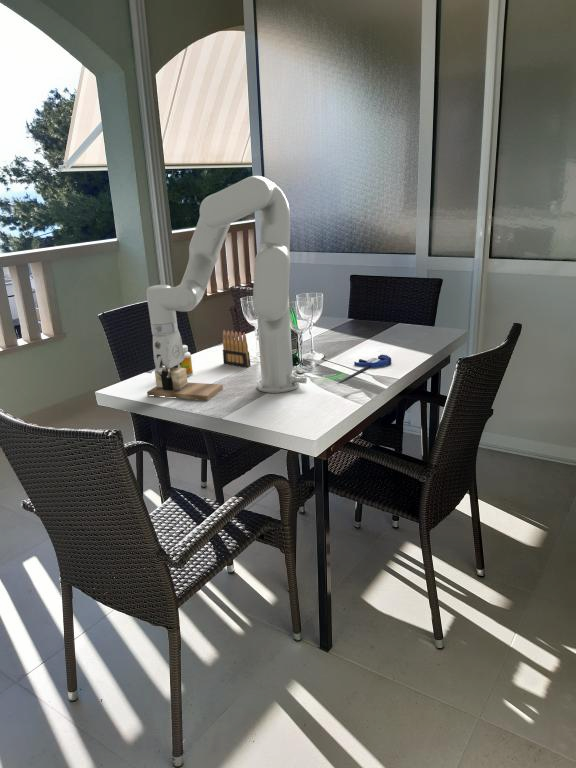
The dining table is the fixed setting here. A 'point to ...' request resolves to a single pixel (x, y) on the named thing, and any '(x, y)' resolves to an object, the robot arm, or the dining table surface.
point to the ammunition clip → (235, 350)
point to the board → (190, 391)
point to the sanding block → (174, 378)
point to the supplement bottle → (187, 361)
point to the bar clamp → (370, 364)
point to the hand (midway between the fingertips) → (172, 386)
